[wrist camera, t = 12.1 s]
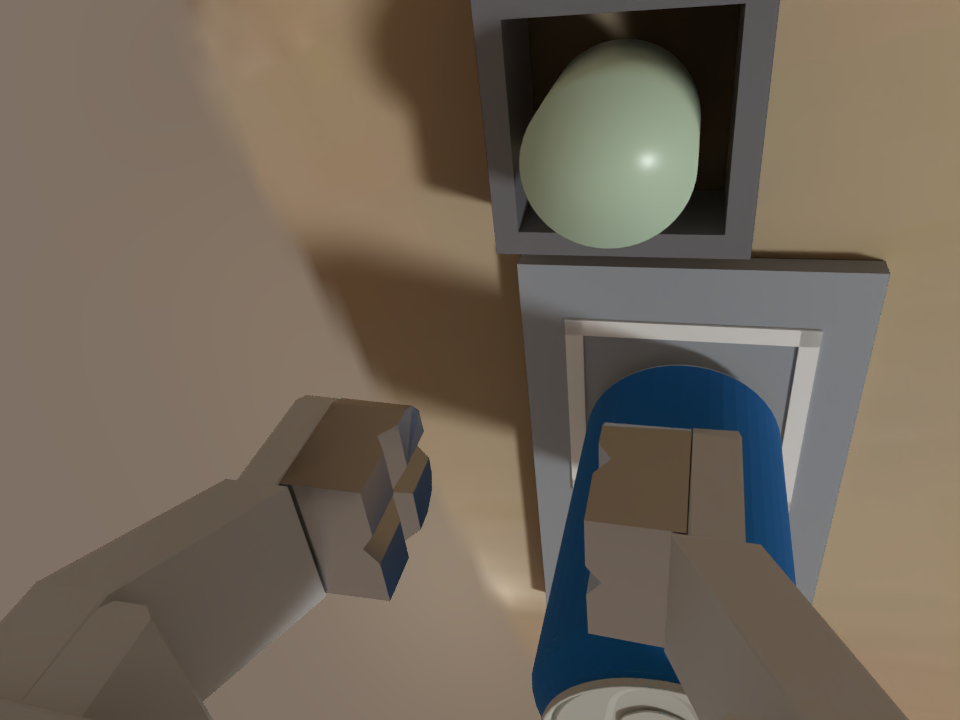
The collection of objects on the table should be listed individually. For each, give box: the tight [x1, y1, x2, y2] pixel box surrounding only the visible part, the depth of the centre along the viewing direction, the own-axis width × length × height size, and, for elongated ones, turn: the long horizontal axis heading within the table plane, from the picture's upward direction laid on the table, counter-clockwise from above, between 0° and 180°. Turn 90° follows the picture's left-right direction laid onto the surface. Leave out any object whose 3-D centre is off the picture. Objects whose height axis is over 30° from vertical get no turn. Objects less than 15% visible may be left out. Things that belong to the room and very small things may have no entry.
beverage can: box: [532, 365, 796, 720], centre depth 21 cm, size 6×6×12 cm
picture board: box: [517, 254, 890, 605], centre depth 28 cm, size 18×11×1 cm, turn 6°
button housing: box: [470, 0, 780, 260], centre depth 20 cm, size 7×7×3 cm
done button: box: [519, 39, 701, 249], centre depth 18 cm, size 4×4×4 cm
